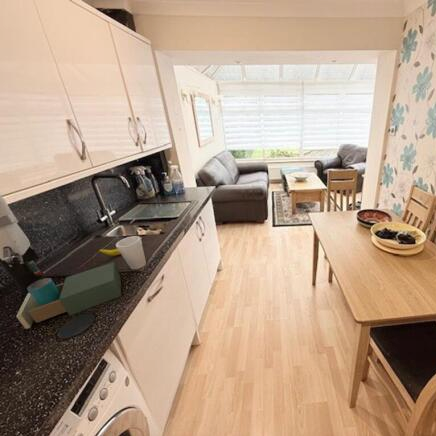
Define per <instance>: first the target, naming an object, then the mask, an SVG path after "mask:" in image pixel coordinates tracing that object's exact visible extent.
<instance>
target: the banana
mask: <svg viewBox="0 0 436 436" xmlns="http://www.w3.org/2000/svg"><path fill="white" fill-rule="evenodd" d="M140 238H141V240H142V239H143V237H141V236H140ZM97 251H99V252H100V253H102V254H105V255H107V256H119V255H121V253H120V252H119V251H118V249H117V248H115V249H97Z"/></svg>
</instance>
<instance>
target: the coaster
mask: <svg viewBox="0 0 436 436" xmlns="http://www.w3.org/2000/svg"><path fill="white" fill-rule="evenodd" d="M95 321H96V316H95V314H93V313H90V312H89V313H88V312H87V313H83V314H79V315H77V316H75V317H73V318H71V319H69V320H68V321H66V322H65V323H64V324H63V325H62V326H61V327H60V328H59V329H58V331H57V333H56V334H57V335H56V336H57V337H58V338H59V339H61V340H67V339H72V338H74V337H77V336H78V335H81V334H82V333H84V332H85V331H87V330H88V329H90V327H91V326H92V325H93V324H94V323H95Z"/></svg>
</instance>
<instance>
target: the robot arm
mask: <svg viewBox="0 0 436 436" xmlns="http://www.w3.org/2000/svg"><path fill="white" fill-rule="evenodd" d="M18 223H19V220H18V219H17V217H16V215H15V214H14V213H13V210H12V209H11V208H10V207H9V205H8V203H7V201H6V200H5V199H4V197H3V195H2V194H1V193H0V258H1V260H4V261H6V262H7V264H8V265H9V266H10V267H12V269H13V270H14V271H15V273H16V274H17V275H18V276H22V275H26V274H29V273H31V272H32V270H31V269H30V268H29V266H28V265H27V263H26V262H30V261H34V262H35V261H37V260H39V259H40V257H39V255H38V254H37V252H36V250H35V248H34V247H33V245H32V244H31V242H30V239H29V238H28V236H27V235H26V233H25V232H24V231H23V229H22V227H20V225H19V224H18ZM15 254H18V255H15ZM12 255H14V256H12ZM22 256H23V257H24V259H25V260H26V262H23V258H22ZM14 258H18V260H16V259H14Z"/></svg>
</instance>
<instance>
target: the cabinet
mask: <svg viewBox="0 0 436 436" xmlns="http://www.w3.org/2000/svg"><path fill="white" fill-rule="evenodd" d="M63 283H64V285H63V288H62V292H61V295H60V298H59V300H60V302H61V303H62V305H63V306H64V308H65V310H66V311H67V312H66V313H67V314H68V315H69V316H70V317H71V316H73V315H76V314H78V313H81V312H83V311H87V310H88V309H91V308H94V307H96V306H99V305H102V304H104V303H107V302H110V301H112V300H115V299H117V298H120V297H122V276H121V274H120V272H119V270H118V268H117V266H116V264H115V262H114V261H113V262H109V263H105V264H104V265H101V266H97V267H94V268H91V269H88V270H85V271H82V272H79V273H76V274H72V275H70V276H67V277H65V279H64V282H63Z"/></svg>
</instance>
